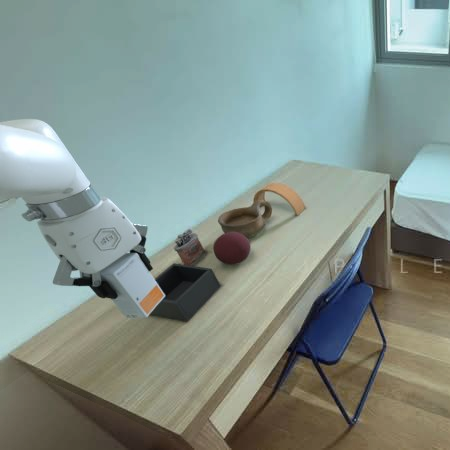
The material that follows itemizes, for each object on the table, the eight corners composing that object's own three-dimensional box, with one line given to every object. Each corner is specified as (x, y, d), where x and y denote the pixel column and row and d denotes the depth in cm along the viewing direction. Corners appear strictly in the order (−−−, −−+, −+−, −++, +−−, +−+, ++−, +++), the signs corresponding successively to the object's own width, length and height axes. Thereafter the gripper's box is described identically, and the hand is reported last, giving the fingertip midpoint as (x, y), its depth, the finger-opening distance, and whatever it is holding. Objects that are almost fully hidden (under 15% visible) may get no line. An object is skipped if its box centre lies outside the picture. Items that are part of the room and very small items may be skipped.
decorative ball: (261, 253, 99) (251, 227, 94) (240, 274, 92) (228, 248, 86) (236, 248, 102) (225, 223, 96) (213, 268, 94) (199, 242, 88)
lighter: (191, 268, 94) (177, 243, 89) (181, 267, 95) (166, 242, 89) (208, 251, 101) (196, 227, 95) (199, 251, 101) (186, 226, 96)
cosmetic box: (147, 319, 60) (112, 274, 53) (126, 319, 60) (88, 275, 53) (167, 295, 65) (137, 252, 58) (147, 295, 65) (115, 252, 58)
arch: (297, 216, 117) (290, 193, 111) (254, 208, 123) (246, 186, 117) (305, 208, 121) (300, 185, 116) (264, 201, 127) (257, 179, 122)
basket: (187, 322, 78) (174, 303, 74) (146, 314, 80) (132, 296, 76) (221, 286, 88) (211, 268, 84) (184, 280, 90) (173, 263, 86)
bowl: (250, 210, 119) (248, 188, 113) (281, 224, 117) (280, 203, 111) (212, 235, 106) (207, 213, 99) (246, 252, 104) (243, 230, 97)
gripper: (18, 238, 41) (99, 323, 51) (136, 179, 54) (181, 255, 65) (-22, 232, 42) (65, 315, 53) (103, 176, 56) (152, 251, 66)
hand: (128, 281), depth 59 cm, fingers closed on cosmetic box, 6 cm apart
